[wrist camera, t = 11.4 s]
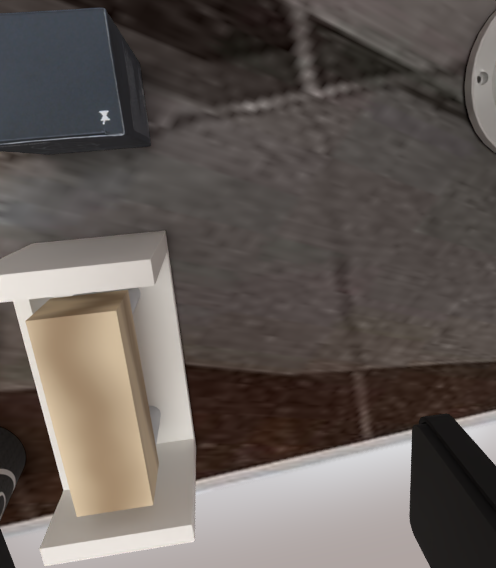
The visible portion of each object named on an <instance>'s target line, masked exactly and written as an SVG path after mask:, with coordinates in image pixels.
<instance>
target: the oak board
mask: <svg viewBox="0 0 496 568" xmlns="http://www.w3.org/2000/svg"><path fill="white" fill-rule="evenodd" d="M25 322H26V326H27V329H28V333H29V337H30V341H31V345H32V349H33V352H34V356H35V360H36V364H37V368H38V371H39V375H40V379H41V383H42V387H43V390H44V394H45V398H46V402H47V406H48V409H49V413H50V417H51V421H52V425H53V428H54V432H55V436H56V440H57V444H58V447H59V451H60V455H61V459H62V463H63V466H64V470H65V474H66V478H67V482H68V485H69V489H70V493H71V497H72V501H73V504H74V508H75V512H76V516H77V517H81V516H87V515H94V514H100V513H106V512H113V511H119V510H126V509H132V508H139V507H145V506H151V505H153V503H154V496H155V488H156V481H157V474H158V467H159V461H158V455H157V449H156V444H155V438H154V433H153V427H152V421H151V416H150V410H149V405H148V399H147V393H146V388H145V382H144V377H143V371H142V365H141V360H140V354H139V349H138V343H137V337H136V332H135V326H134V321H133V315H132V309H131V304H130V298H129V292H128V290H122V291H113V292H104V293H95V294H86V295H77V296H68V297H59V298H50V299H49V300H48V301H47V302H46V303H45V304H44V305H43V306H42V307H40V308H39V309H38V310H37V311H36V312H35V313H34V314H33V315H32V316H30V317H29V318H28V319H27V320H26V321H25Z"/></svg>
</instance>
